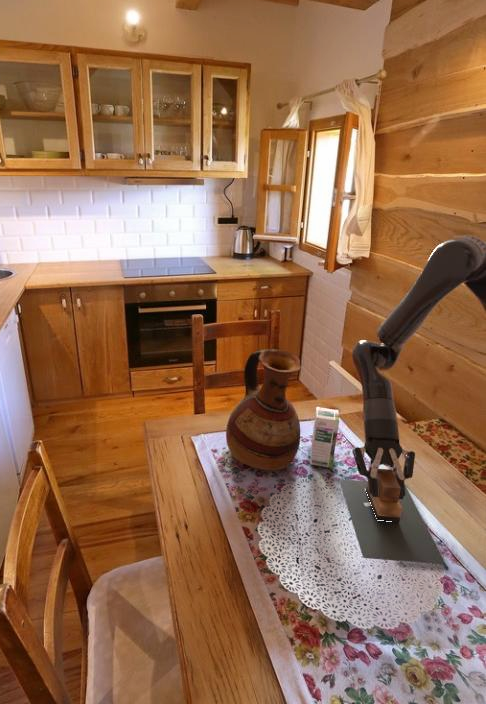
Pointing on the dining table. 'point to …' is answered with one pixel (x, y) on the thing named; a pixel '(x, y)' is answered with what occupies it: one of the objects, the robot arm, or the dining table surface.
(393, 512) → the eraser
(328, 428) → the syrup box
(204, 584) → the dining table surface
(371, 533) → the slate board
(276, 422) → the ceramic pitcher
